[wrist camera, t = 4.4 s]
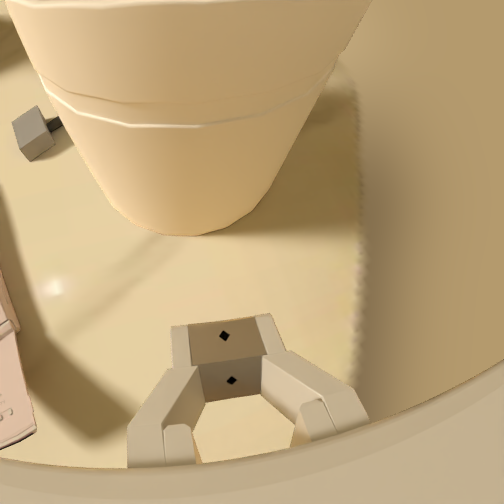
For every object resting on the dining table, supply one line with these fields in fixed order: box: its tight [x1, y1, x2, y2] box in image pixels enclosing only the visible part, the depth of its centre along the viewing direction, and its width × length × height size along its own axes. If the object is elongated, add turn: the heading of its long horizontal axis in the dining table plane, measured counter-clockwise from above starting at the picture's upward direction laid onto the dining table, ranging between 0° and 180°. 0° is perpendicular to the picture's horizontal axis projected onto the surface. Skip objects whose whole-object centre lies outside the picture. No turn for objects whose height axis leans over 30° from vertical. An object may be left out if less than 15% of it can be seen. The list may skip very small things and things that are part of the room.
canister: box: [4, 0, 372, 236], centre depth 17 cm, size 16×16×20 cm
